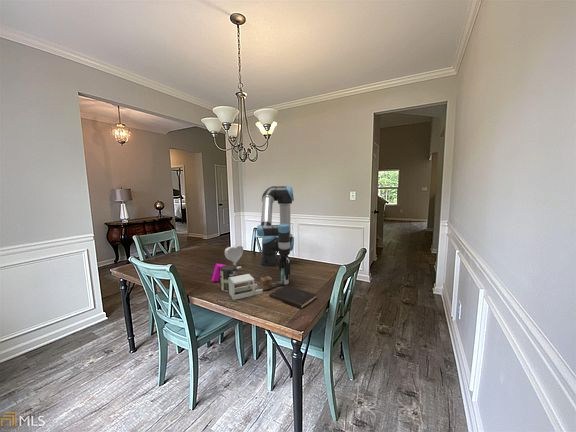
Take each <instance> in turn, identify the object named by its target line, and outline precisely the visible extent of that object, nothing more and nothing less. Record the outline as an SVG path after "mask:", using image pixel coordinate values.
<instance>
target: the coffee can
mask: <svg viewBox="0 0 576 432" xmlns="http://www.w3.org/2000/svg"><path fill="white" fill-rule="evenodd" d="M224 265H225V266H222V267H221V268H220V270H221V275H220V276H221V282H220V285H221V287H220V288H221V291H222V292H226V293H229V281H228V278H229V277H234V276H237V275H238V269H237V266H238V265H237V264H236V265H233V264H224ZM238 287H239V286H238V284H235V285H234V288H238Z"/></svg>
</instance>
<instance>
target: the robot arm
mask: <svg viewBox="0 0 576 432" xmlns="http://www.w3.org/2000/svg"><path fill="white" fill-rule="evenodd" d="M275 201H276V202H277V204H278V205H279V224H273V223H272V222H273V221H272V220H273V205H274V203H275ZM293 201H295V198H294V191H293V187H292V186H290V185H279V186H278V185H277V186H276V185H275V186H274V185H273V186H270V187H268V188H267V189H266V190H265V191H264V192H263V194H262V195H261V202H262V208H261V218H260V224H257V226H256V233H257V236H259V237H262V239H261V249H262V252H261V257H260V258H261V259H260V262H259V263H260V265H261V266H264V267H273V266H274V267H275V266H277V265H278V269H279V272H281V268H284V270H285V274H284V284H287V285H288V284H289V281H290V280H289V279H290V278H289V275H291V261H292V260H291V259H289V255H290V254H291V252H292V251H293V250H294V245H295V237H294V236H293V234H292V233H291V205H292V204H293ZM277 252H278V256H277Z"/></svg>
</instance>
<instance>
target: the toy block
mask: <svg viewBox="0 0 576 432" xmlns="http://www.w3.org/2000/svg"><path fill="white" fill-rule="evenodd" d="M225 265H226V264H221V263H215V265H214V270H213V273H212V277H211V281H212V282H214V283H215V282H220V281H219V276H221V270H220V268H221V267H222V266H225Z"/></svg>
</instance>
